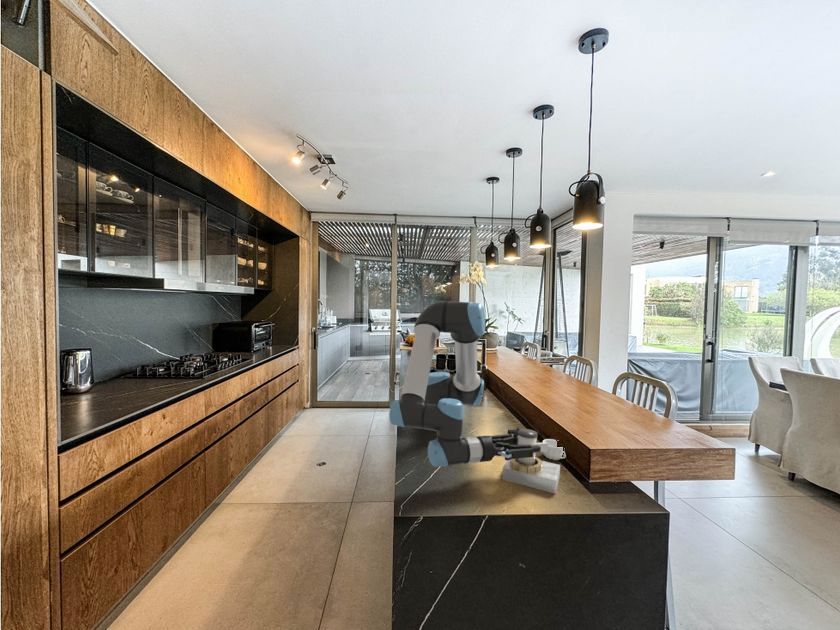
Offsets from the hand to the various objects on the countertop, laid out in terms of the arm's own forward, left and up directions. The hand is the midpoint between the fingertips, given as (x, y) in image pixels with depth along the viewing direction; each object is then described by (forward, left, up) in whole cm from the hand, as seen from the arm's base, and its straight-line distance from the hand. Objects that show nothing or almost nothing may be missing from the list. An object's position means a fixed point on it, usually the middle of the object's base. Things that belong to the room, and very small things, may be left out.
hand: (540, 442), depth 120 cm
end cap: (-10, +18, -11) cm, 24 cm away
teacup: (+3, +16, -11) cm, 20 cm away
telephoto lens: (-4, -4, -6) cm, 8 cm away
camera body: (-2, -4, -11) cm, 12 cm away
